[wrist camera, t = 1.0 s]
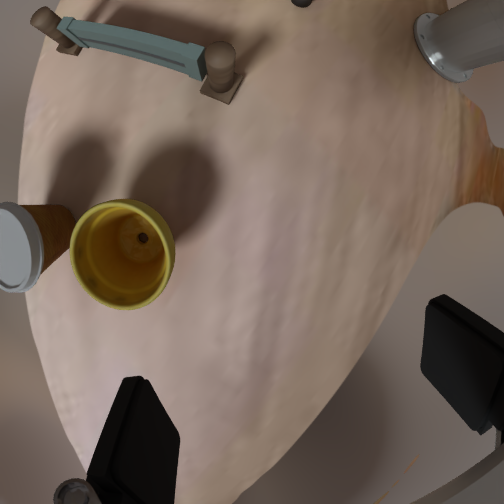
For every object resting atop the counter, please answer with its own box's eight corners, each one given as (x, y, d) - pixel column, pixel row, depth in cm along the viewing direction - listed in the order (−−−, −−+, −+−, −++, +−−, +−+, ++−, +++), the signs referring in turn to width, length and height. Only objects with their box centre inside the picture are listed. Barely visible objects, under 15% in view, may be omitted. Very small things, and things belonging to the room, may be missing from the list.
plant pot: (185, 192, 33) (169, 200, 23) (186, 278, 35) (173, 314, 26) (103, 194, 32) (64, 203, 22) (108, 275, 35) (76, 307, 25)
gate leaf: (208, 70, 28) (204, 47, 21) (202, 81, 28) (196, 60, 22) (86, 36, 24) (63, 16, 18) (79, 46, 25) (56, 28, 18)
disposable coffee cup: (22, 220, 31) (-33, 240, 20) (62, 177, 31) (4, 183, 19) (56, 275, 34) (7, 311, 22) (100, 237, 33) (51, 265, 22)
